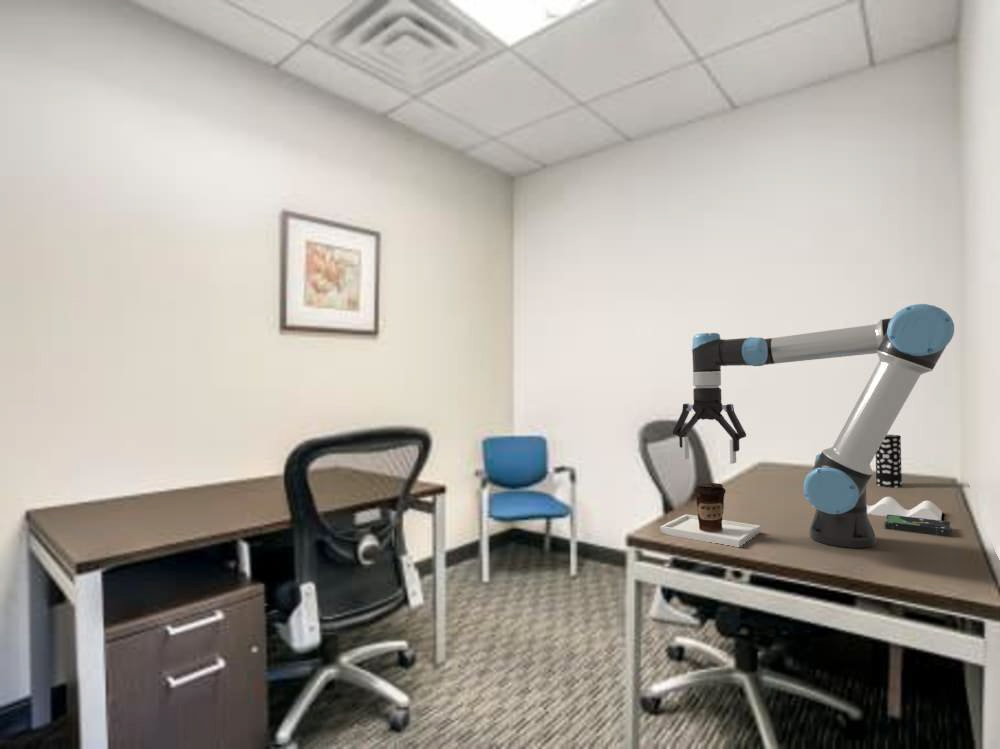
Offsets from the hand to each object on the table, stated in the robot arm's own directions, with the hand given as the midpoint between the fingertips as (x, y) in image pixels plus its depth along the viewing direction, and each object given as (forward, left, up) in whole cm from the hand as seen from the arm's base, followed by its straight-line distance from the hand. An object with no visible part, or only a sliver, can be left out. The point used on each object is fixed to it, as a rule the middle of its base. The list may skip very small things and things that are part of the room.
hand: (708, 461), depth 158 cm
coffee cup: (0, 0, -20) cm, 20 cm away
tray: (0, 0, -21) cm, 21 cm away
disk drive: (-44, -40, -21) cm, 64 cm away
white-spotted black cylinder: (-30, -109, -21) cm, 115 cm away
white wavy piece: (-32, -58, -22) cm, 70 cm away
